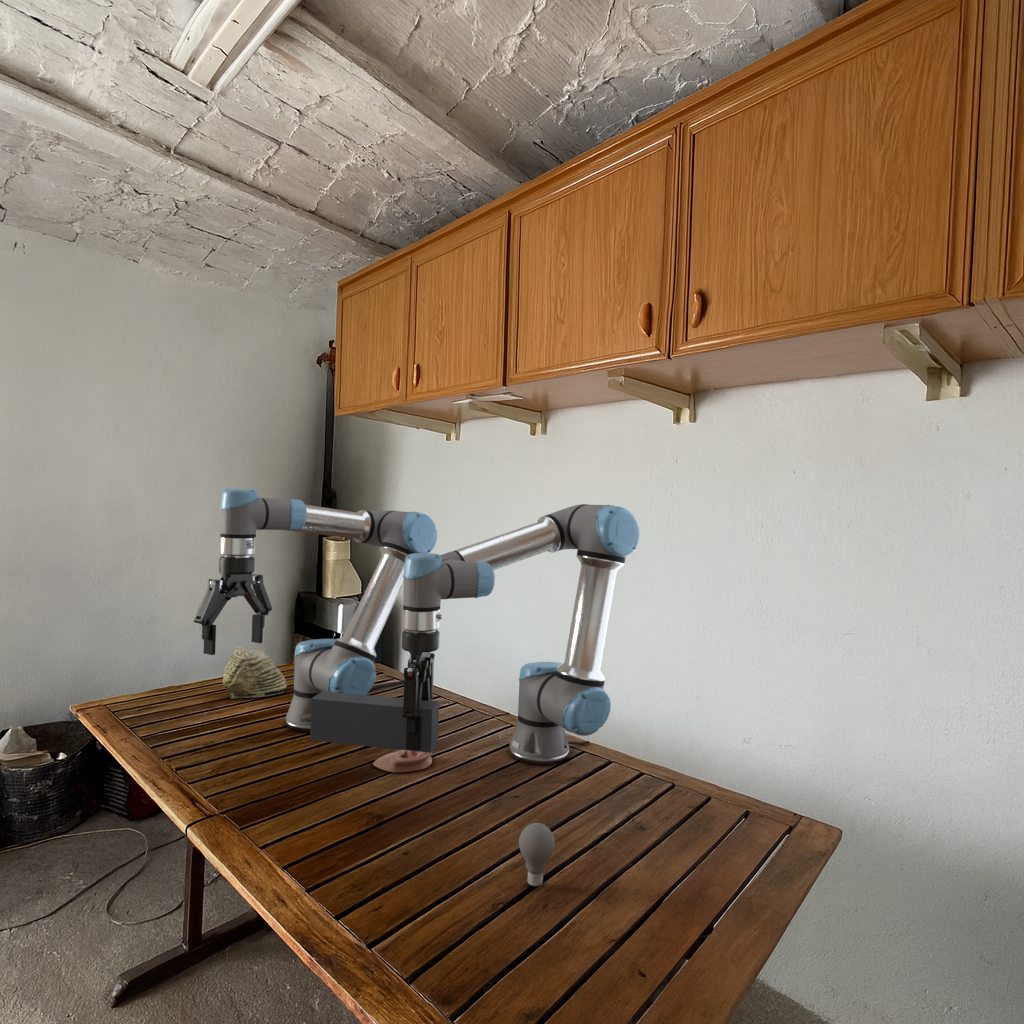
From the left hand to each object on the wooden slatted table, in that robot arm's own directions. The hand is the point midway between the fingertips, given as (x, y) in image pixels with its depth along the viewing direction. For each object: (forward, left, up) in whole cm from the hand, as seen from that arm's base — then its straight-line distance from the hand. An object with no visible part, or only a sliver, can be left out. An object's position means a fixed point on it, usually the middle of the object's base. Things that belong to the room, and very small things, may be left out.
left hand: (234, 648), depth 146 cm
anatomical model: (-29, +27, -28) cm, 48 cm away
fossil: (-31, -44, -28) cm, 61 cm away
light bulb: (-12, +79, -28) cm, 84 cm away
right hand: (-15, +46, -13) cm, 50 cm away
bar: (-11, +38, -14) cm, 42 cm away
